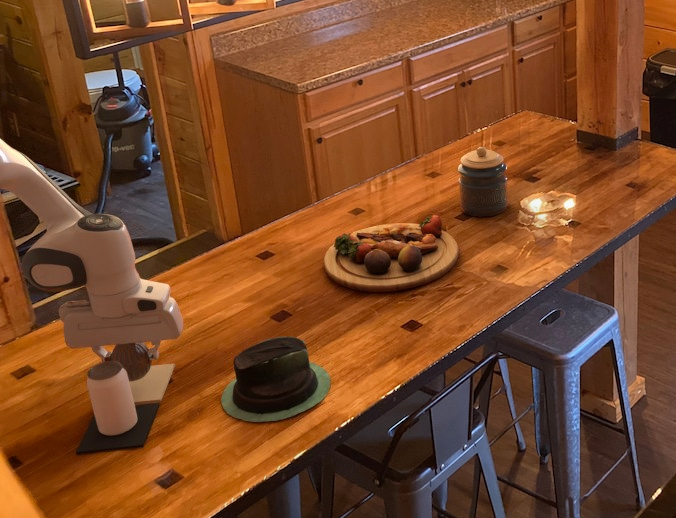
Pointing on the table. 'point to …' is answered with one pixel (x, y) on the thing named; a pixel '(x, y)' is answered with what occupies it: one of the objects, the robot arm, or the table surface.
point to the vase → (133, 359)
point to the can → (111, 398)
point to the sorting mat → (146, 405)
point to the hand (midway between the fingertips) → (131, 360)
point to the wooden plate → (391, 256)
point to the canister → (483, 183)
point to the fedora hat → (274, 381)
